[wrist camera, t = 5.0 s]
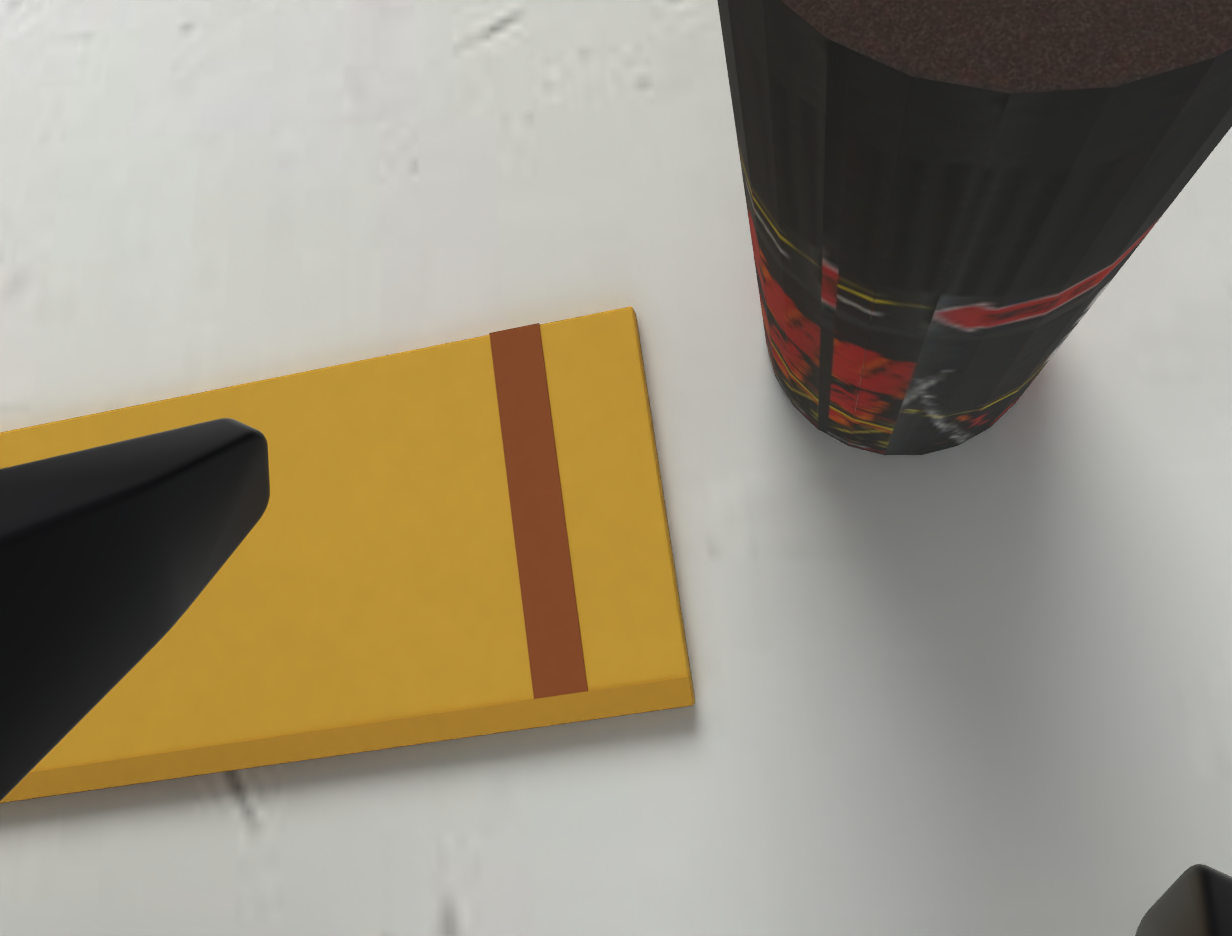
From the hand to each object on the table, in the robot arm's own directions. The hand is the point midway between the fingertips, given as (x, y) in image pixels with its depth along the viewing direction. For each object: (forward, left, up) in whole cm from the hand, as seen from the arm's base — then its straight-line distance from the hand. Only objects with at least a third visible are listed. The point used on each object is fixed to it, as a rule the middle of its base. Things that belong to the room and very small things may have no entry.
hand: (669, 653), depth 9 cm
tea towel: (+4, +11, -14) cm, 18 cm away
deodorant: (+7, -4, -14) cm, 16 cm away
